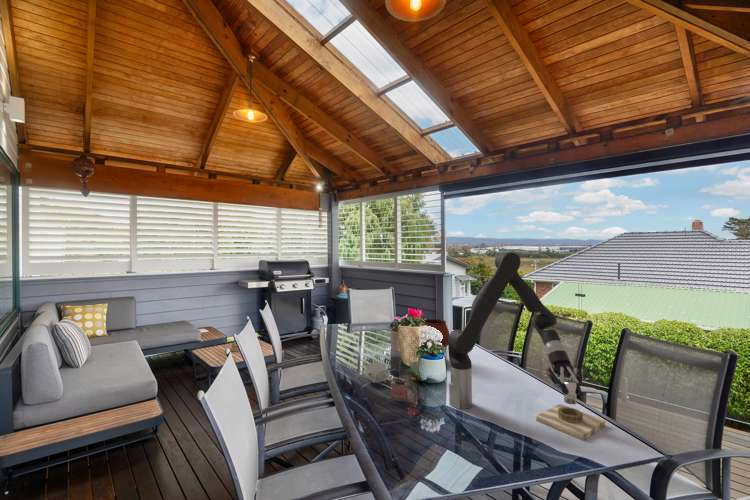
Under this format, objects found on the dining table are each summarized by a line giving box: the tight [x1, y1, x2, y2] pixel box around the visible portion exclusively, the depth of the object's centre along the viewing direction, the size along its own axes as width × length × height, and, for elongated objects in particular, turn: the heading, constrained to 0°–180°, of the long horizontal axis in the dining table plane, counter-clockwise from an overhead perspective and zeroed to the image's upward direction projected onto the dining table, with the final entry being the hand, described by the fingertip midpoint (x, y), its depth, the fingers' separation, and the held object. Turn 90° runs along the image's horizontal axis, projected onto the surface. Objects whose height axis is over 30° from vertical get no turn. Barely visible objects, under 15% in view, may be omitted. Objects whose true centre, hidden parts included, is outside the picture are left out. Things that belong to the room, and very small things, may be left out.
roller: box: [563, 379, 577, 405], centre depth 140 cm, size 4×4×8 cm
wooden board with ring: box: [535, 403, 606, 442], centre depth 140 cm, size 18×18×4 cm
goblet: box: [422, 318, 450, 349], centre depth 217 cm, size 19×19×25 cm
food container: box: [408, 360, 421, 382], centre depth 187 cm, size 12×6×10 cm, turn 117°
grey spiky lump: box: [364, 361, 389, 384], centre depth 185 cm, size 15×12×8 cm
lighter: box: [390, 376, 409, 402], centre depth 164 cm, size 8×3×10 cm, turn 65°
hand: (572, 393), depth 138 cm, fingers closed on roller, 4 cm apart
